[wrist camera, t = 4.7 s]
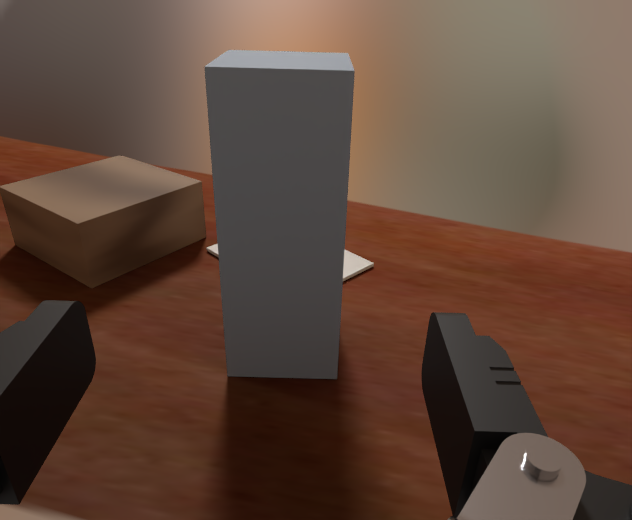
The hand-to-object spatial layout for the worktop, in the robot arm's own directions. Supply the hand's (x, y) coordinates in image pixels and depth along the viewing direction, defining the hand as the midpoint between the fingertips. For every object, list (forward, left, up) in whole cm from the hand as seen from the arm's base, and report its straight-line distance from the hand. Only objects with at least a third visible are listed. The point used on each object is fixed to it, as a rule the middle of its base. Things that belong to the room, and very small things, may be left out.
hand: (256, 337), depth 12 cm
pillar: (+6, +6, -7) cm, 11 cm away
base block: (+5, +21, -7) cm, 23 cm away
